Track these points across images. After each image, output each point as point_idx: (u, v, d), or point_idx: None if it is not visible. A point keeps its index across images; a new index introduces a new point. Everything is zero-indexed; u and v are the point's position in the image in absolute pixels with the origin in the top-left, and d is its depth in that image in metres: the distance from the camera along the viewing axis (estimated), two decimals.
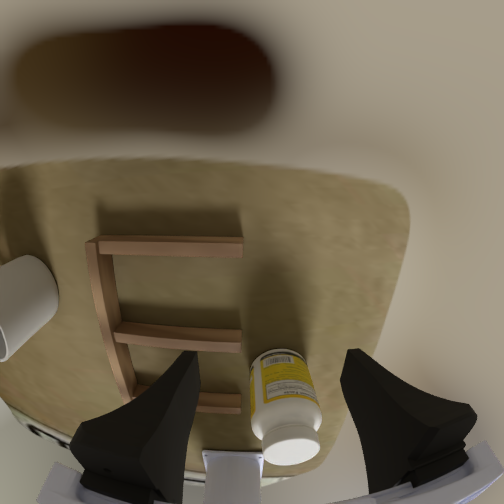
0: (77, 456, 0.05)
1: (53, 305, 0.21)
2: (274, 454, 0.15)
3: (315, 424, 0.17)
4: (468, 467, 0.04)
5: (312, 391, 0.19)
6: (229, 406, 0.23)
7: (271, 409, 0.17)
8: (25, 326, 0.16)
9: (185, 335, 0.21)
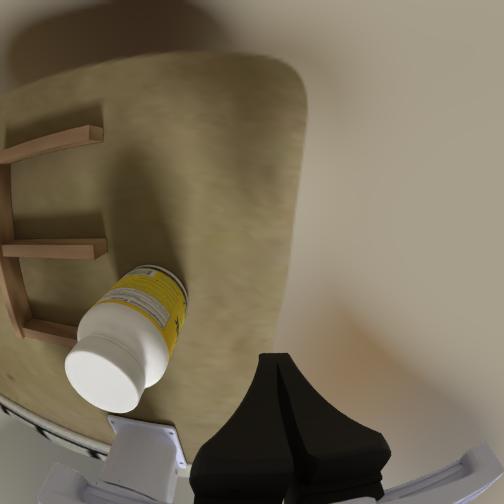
0: (197, 485, 0.05)
1: None
2: (79, 380, 0.10)
3: (147, 354, 0.12)
4: (468, 467, 0.04)
5: (158, 308, 0.14)
6: None
7: (86, 315, 0.12)
8: None
9: (51, 242, 0.17)
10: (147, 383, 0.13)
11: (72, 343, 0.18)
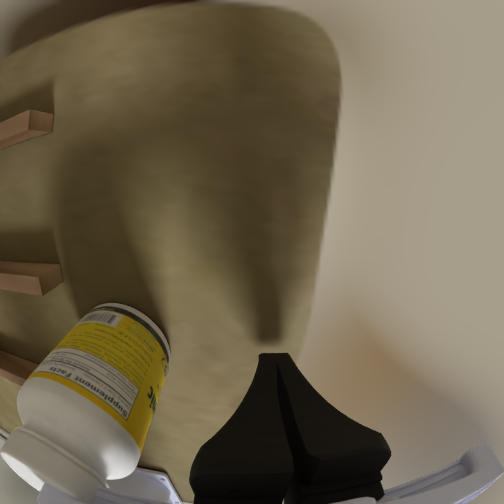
0: (197, 485, 0.05)
1: None
2: (24, 476, 0.04)
3: (105, 456, 0.06)
4: (468, 467, 0.04)
5: (118, 385, 0.08)
6: None
7: (20, 391, 0.06)
8: None
9: None
10: (115, 478, 0.07)
11: None
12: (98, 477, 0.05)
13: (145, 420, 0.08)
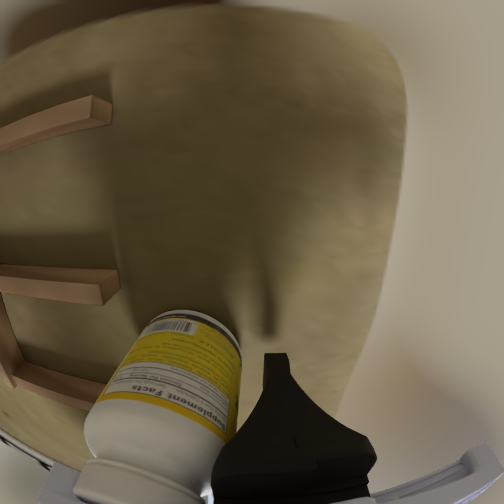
0: (218, 487, 0.05)
1: None
2: None
3: (205, 476, 0.06)
4: (468, 467, 0.04)
5: (213, 398, 0.08)
6: None
7: (94, 417, 0.06)
8: None
9: (37, 274, 0.11)
10: (201, 496, 0.07)
11: (78, 403, 0.13)
12: (201, 500, 0.05)
13: (235, 431, 0.08)
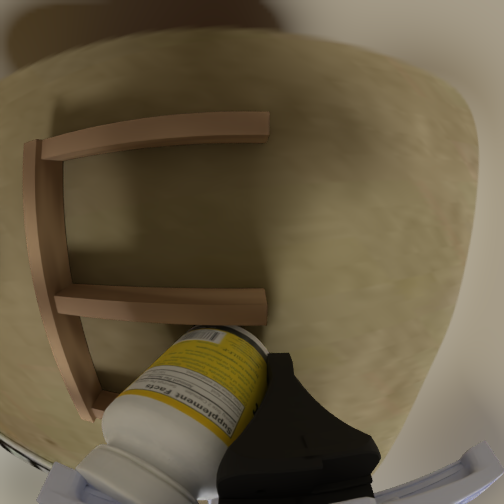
0: (223, 487, 0.05)
1: None
2: None
3: (201, 475, 0.06)
4: (468, 467, 0.04)
5: (223, 402, 0.08)
6: None
7: (109, 409, 0.07)
8: None
9: (165, 297, 0.12)
10: (205, 499, 0.07)
11: None
12: (190, 497, 0.05)
13: None
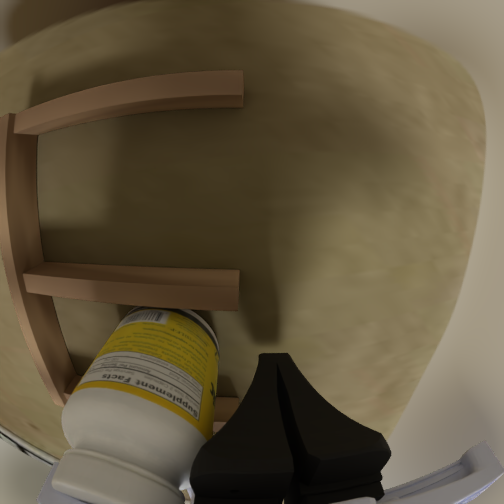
0: (197, 485, 0.05)
1: None
2: None
3: (179, 465, 0.06)
4: (468, 467, 0.04)
5: (183, 384, 0.08)
6: (217, 419, 0.13)
7: (68, 407, 0.06)
8: None
9: (129, 276, 0.11)
10: (183, 488, 0.06)
11: None
12: (176, 490, 0.05)
13: (212, 419, 0.08)
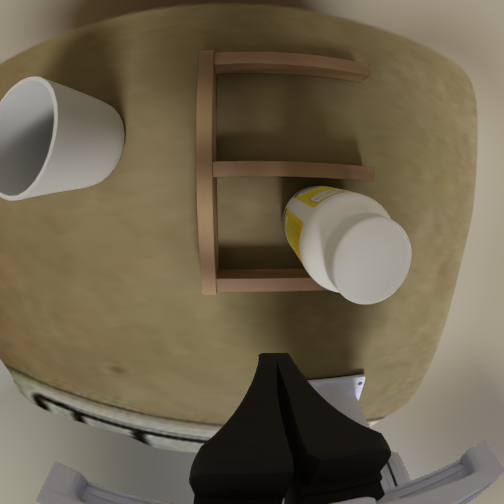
0: (196, 485, 0.05)
1: (117, 150, 0.17)
2: (351, 266, 0.11)
3: None
4: (468, 467, 0.04)
5: None
6: None
7: (327, 204, 0.13)
8: (83, 142, 0.13)
9: None
10: None
11: (311, 283, 0.19)
12: None
13: None
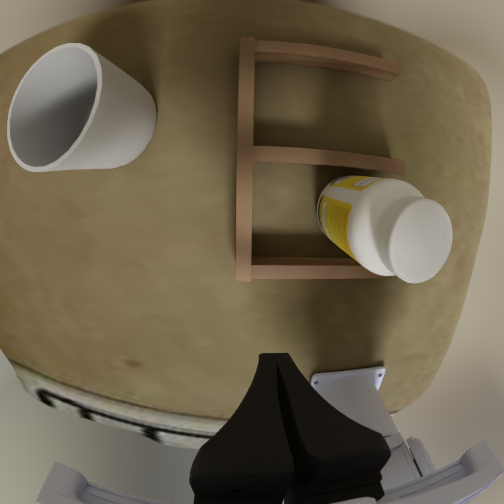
0: (197, 485, 0.05)
1: (149, 130, 0.17)
2: (404, 243, 0.11)
3: None
4: (468, 467, 0.04)
5: None
6: None
7: (376, 187, 0.12)
8: (122, 115, 0.12)
9: None
10: None
11: (343, 271, 0.19)
12: None
13: None
